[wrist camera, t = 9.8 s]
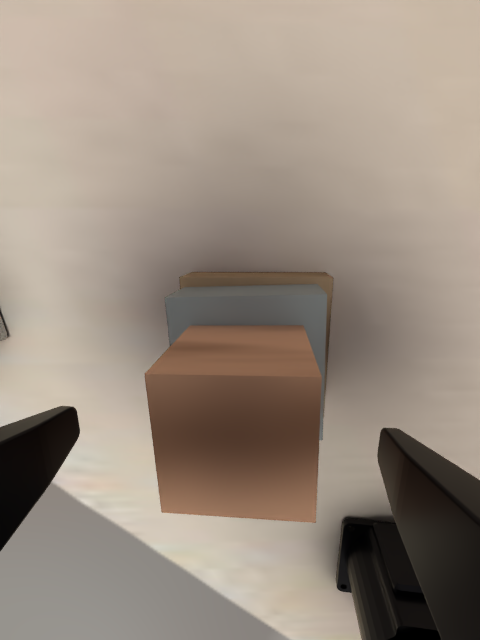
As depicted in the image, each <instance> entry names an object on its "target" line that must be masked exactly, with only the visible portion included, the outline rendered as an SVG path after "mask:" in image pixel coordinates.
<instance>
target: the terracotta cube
mask: <svg viewBox="0 0 480 640" xmlns="http://www.w3.org/2000/svg"><path fill="white" fill-rule="evenodd" d="M145 382H146V390H147V398H148V406H149V414H150V422H151V430H152V438H153V446H154V455H155V463H156V471H157V479H158V487H159V495H160V503H161V511H162V512H163V513H178V514H193V515H208V516H223V517H238V518H253V519H268V520H282V521H297V522H312V523H316V501H317V478H318V454H319V431H320V408H321V385H322V376H321V373H320V370H319V368H318V365H317V362H316V359H315V356H314V354H313V351H312V348H311V345H310V342H309V339H308V337H307V334H306V331H305V328H304V325H190V326H189V327H188V328H187V329H186V330H185V331H184V332H183V333H182V334H181V336H180V337H179V338H178V339H177V340H176V341H175V342H174V343H173V344H172V345H171V346H170V347H169V348H168V349H167V350H166V352H165V353H164V354H163V355H162V356H161V357H160V358H159V359H158V360H157V361H156V362H155V363H154V364H153V365H152V367H151V368H150V369H149V370H148V371H147V372H146V373H145Z"/></svg>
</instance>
